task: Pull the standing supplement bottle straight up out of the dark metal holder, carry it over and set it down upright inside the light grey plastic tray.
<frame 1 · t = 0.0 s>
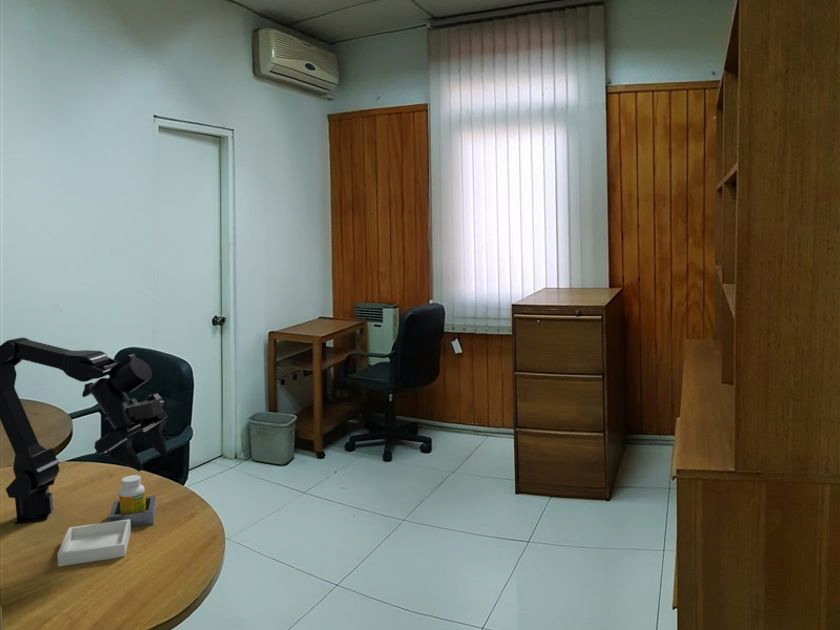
hand: (153, 462, 140), 15 cm above the table, tool tilted 35°, fingers open, 9 cm apart
can holder: (133, 518, 146), on the table
tray: (96, 547, 132), on the table
supplement bottle: (133, 519, 146), resting in can holder
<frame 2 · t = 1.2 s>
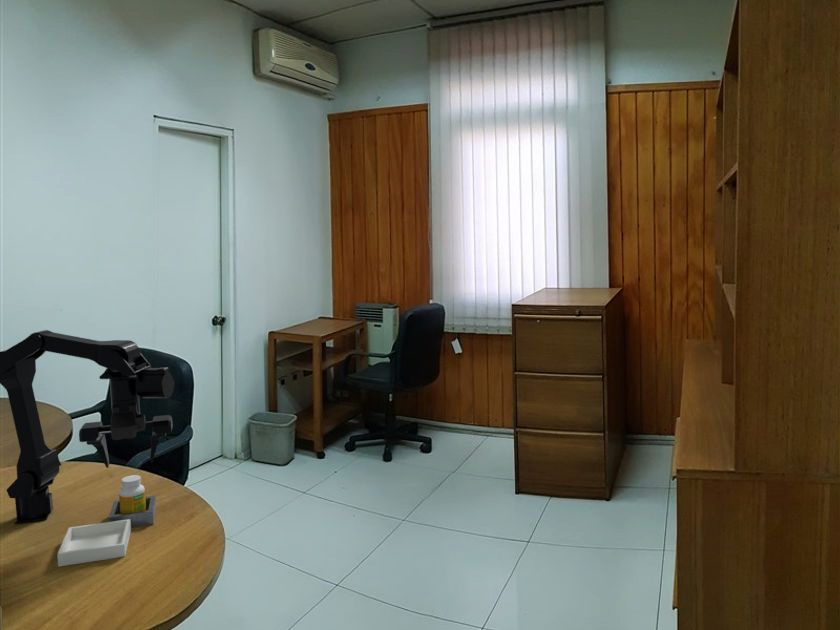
hand: (130, 464, 144), 13 cm above the table, tool pointing down, fingers open, 9 cm apart
nothing on the table moved.
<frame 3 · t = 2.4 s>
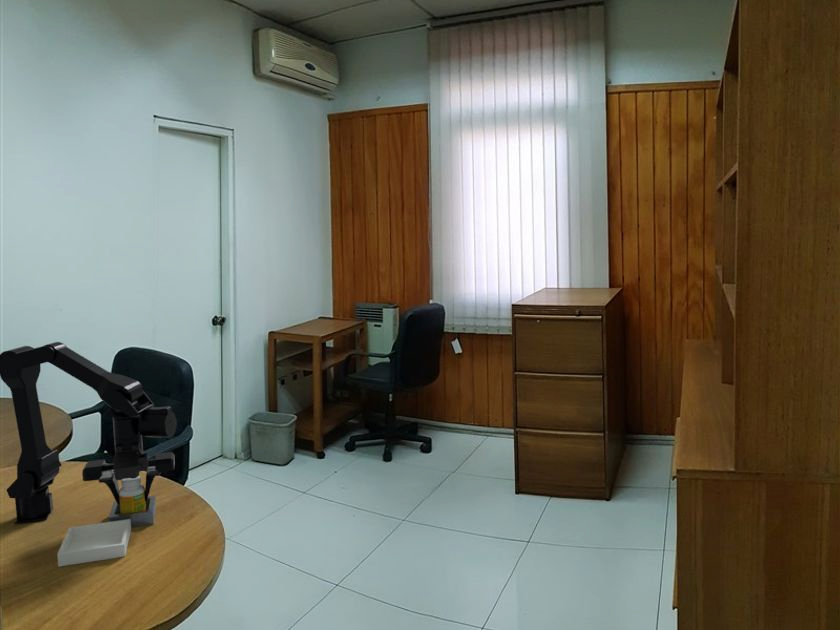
hand: (132, 501, 145), 4 cm above the table, tool pointing down, fingers closed on supplement bottle, 5 cm apart
supplement bottle: (133, 519, 146), resting in can holder, touching gripper
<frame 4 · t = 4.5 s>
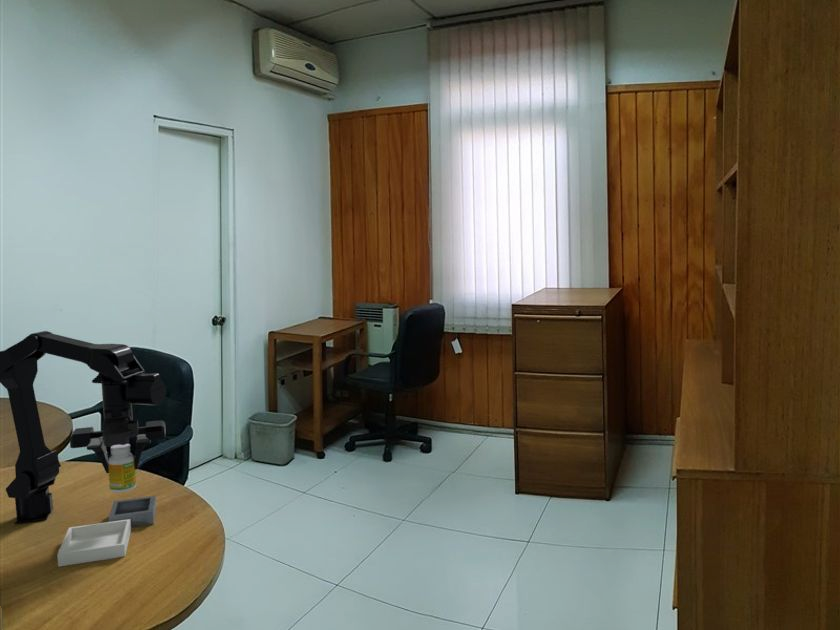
hand: (122, 470, 141), 13 cm above the table, tool pointing down, fingers closed on supplement bottle, 5 cm apart
supplement bottle: (123, 488, 141), point 8 cm above the table, touching gripper
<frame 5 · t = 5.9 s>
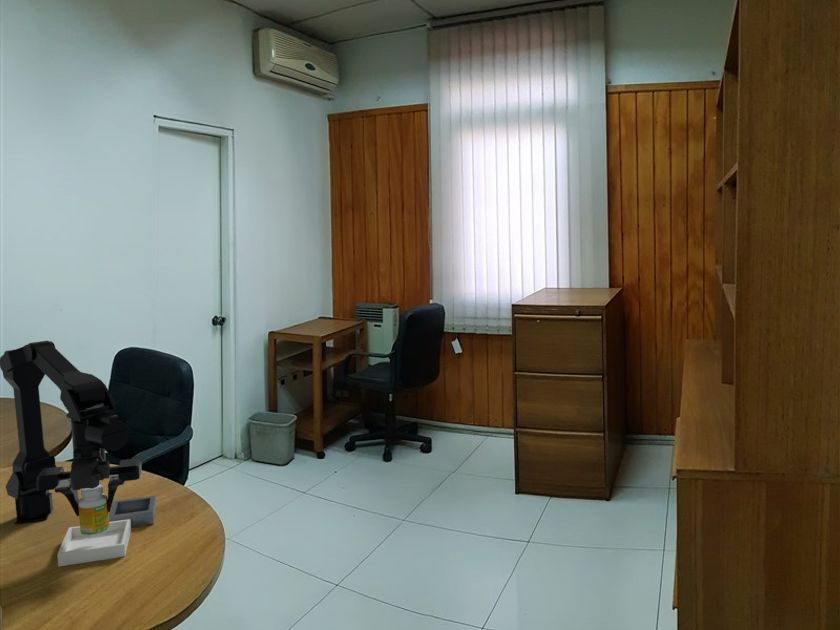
hand: (93, 513, 131), 7 cm above the table, tool pointing down, fingers closed on supplement bottle, 5 cm apart
supplement bottle: (95, 532, 132), point 3 cm above the table, touching gripper
when the fingers open (6 cm above the table, at t = 6.5 s): supplement bottle drops 2 cm, resting on tray.
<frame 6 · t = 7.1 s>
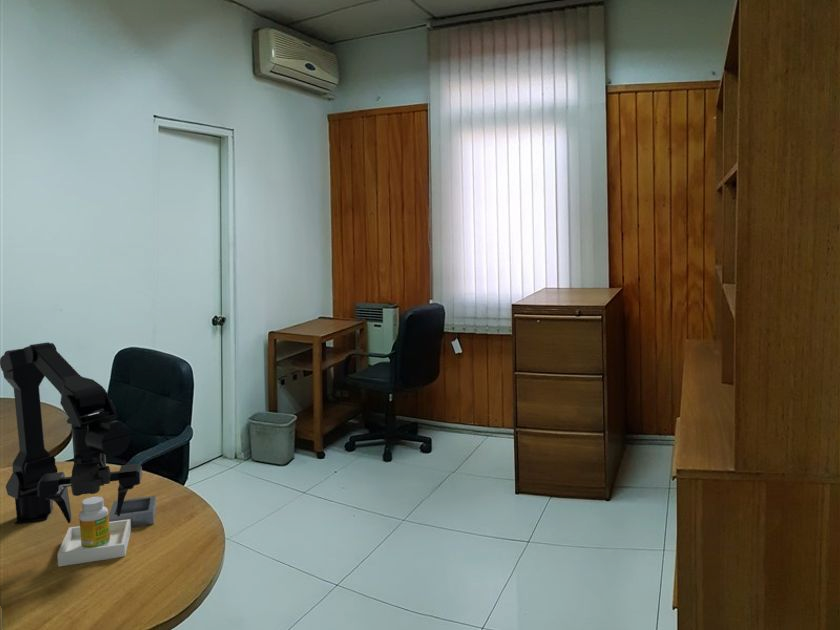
hand: (94, 518, 132), 6 cm above the table, tool pointing down, fingers open, 9 cm apart
supplement bottle: (96, 545, 132), resting on tray
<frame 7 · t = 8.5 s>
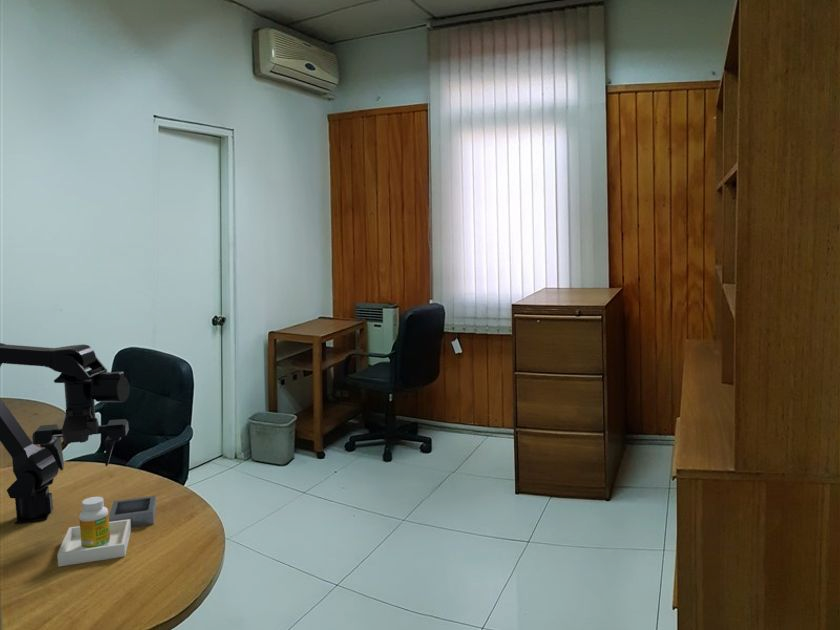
hand: (84, 467, 145), 12 cm above the table, tool pointing down, fingers open, 9 cm apart
nothing on the table moved.
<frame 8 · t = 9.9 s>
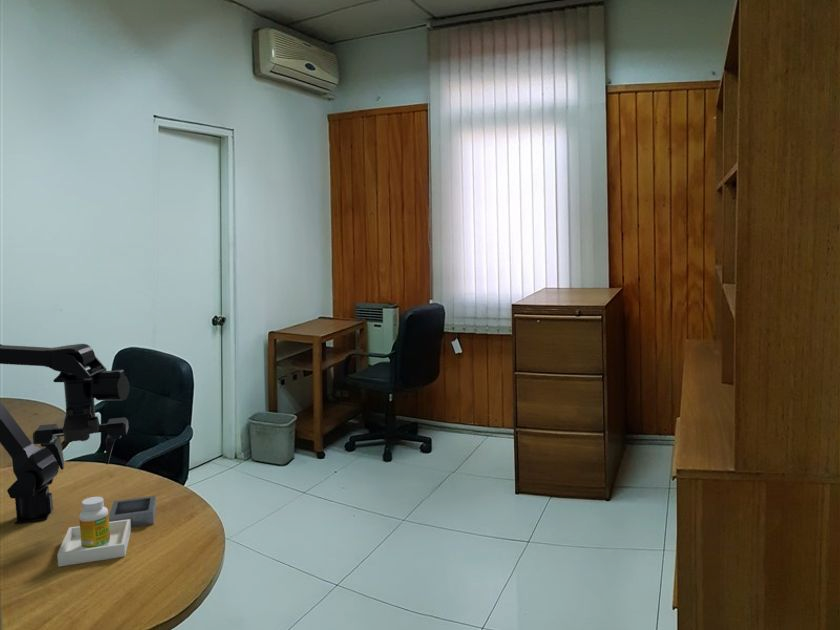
hand: (85, 466, 145), 12 cm above the table, tool pointing down, fingers open, 9 cm apart
nothing on the table moved.
at the end: supplement bottle inside the target area on the tray (0.1 cm from its centre), point 0.4 cm above the tray's base; supplement bottle tilted 0°; the gripper is holding nothing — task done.
